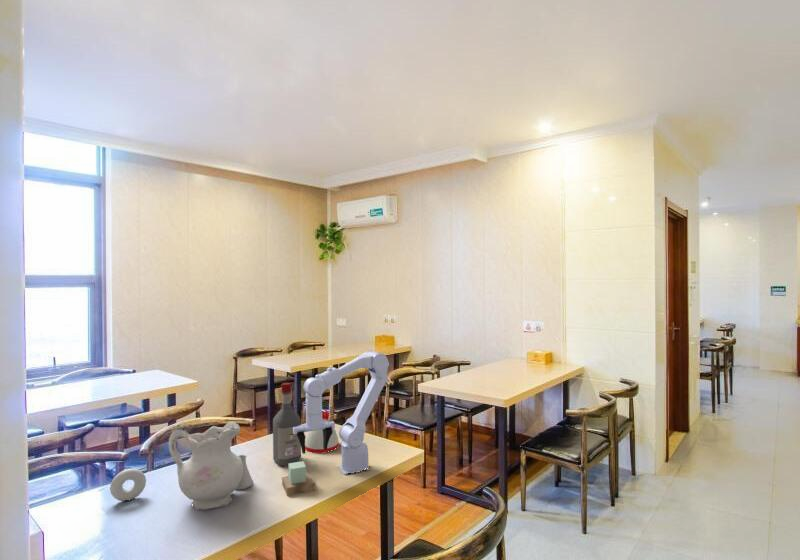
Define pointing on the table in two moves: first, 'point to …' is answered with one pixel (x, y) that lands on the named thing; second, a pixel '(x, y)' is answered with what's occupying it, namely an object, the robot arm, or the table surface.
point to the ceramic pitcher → (208, 465)
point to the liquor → (286, 431)
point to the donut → (126, 475)
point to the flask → (245, 475)
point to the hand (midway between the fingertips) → (314, 451)
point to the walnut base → (298, 485)
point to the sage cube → (297, 472)
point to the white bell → (320, 438)
